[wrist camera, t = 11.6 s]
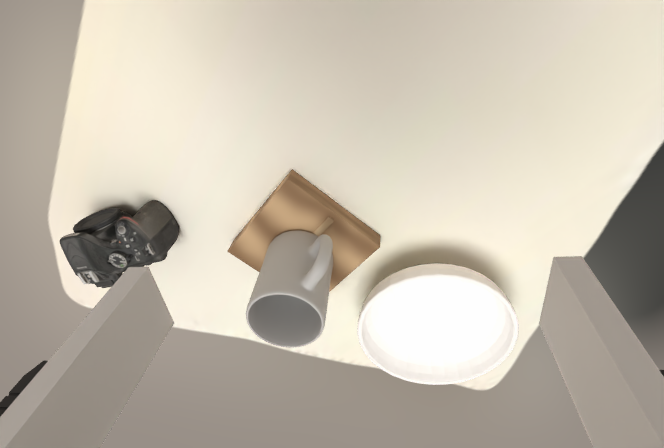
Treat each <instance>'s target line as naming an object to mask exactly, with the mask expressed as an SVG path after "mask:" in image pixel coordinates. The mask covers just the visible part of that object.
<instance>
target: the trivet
mask: <svg viewBox="0 0 664 448" xmlns="http://www.w3.org/2000/svg"><path fill="white" fill-rule="evenodd" d="M295 230H299V231H306V232H310V233H313V234H315V235H317V236H318V237H319V236H320V235H322V234H326V235H328V236H329V237H330V238H331V239H332V243H333V250H332V254H333V268H332V274H331V281H330V288H329V292H330V291H331V290H332V289H333V288H334V287H335V286H336V285H338V284H339V283H340V282H341V281H342V280H343V279H344V278H346V277H347V276H348V275H349V274H350V273H351V272H352V271H353V270H355V269H356V268H357V267H358V266H359V265H360V264H361V263H362V262H364V261H365V260H366V259H367V258H368V257H369V256H370V255H372V254H373V253H374V252H375V251H376V250H377V249H378V248H379V247H380V235H379V234H378V233H376V232H375V231H374V230H372V229H371V228H370V227H368V226H367V225H366V224H364V223H363V222H362V221H360V220H359V219H358V218H356V217H355V216H354V215H352V214H351V213H350V212H348V211H347V210H346V209H344V208H343V207H342V206H340V205H339V204H338V203H336V202H335V201H334V200H332V199H331V198H330V197H328V196H327V195H326V194H324V193H323V192H322V191H320V190H319V189H318V188H316V187H315V186H314V185H312V184H311V183H310V182H308V181H307V180H306V179H304V178H303V177H302V176H300V175H299V174H298V173H296V172H295V171H294V170H291V171H290V173H289V174H288V175H287V176H286V177H285V179H284V180H283V181H282V182H281V184H280V185H279V186H278V187H277V188H276V190H275V191H274V192H273V193H272V195H271V196H270V197H269V198H268V199H267V201H266V202H265V203H264V204H263V205H262V207H261V208H260V209H259V210H258V212H257V213H256V214H255V215H254V216H253V218H252V219H251V220H250V221H249V222H248V224H247V225H246V226H245V227H244V229H243V230H242V231H241V232H240V233H239V235H238V236H237V237H236V238H235V239H234V241H233V243H232V244H231V246H230V248H229V250H228V252H229V253H231V254H232V255H234V256H235V257H237V258H238V259H240V260H241V261H243V262H245V263H246V264H248V265H249V266H251V267H252V268H254V269H255V270H257V271H258V272H260V270H261V267H262V264H263V261H264V258H265V255H266V252H267V249H268V247H269V245H270V243H271V242H272V241H273V239H274V238H276V237H277V236H278V235H280V234H282V233H285V232H288V231H295Z"/></svg>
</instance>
